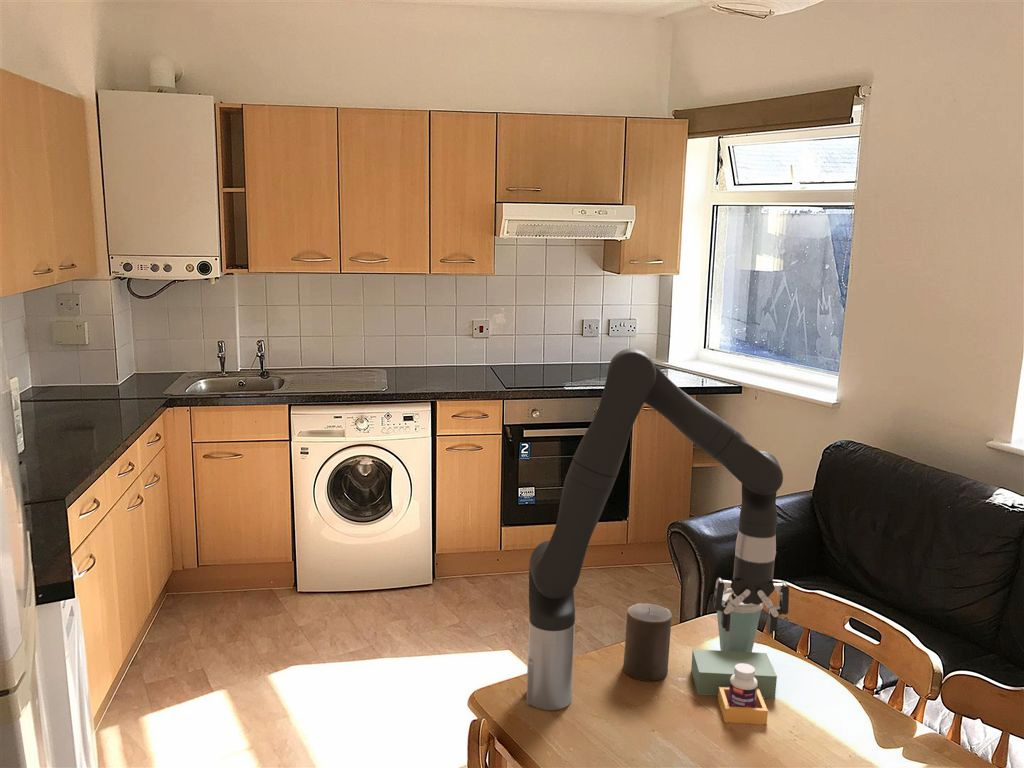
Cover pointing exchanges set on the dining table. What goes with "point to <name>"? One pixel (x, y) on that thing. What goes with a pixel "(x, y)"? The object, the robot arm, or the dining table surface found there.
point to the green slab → (715, 680)
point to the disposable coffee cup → (739, 626)
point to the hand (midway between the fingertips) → (748, 630)
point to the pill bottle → (743, 687)
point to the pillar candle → (647, 642)
